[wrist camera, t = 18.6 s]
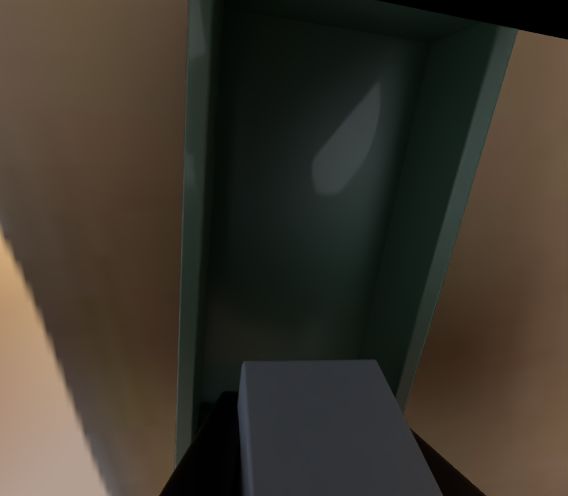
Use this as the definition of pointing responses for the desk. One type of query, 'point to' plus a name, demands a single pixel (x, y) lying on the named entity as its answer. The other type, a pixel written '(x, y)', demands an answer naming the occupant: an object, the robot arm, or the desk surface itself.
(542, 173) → the desk surface
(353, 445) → the block
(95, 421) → the desk surface
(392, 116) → the chest
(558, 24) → the lid
